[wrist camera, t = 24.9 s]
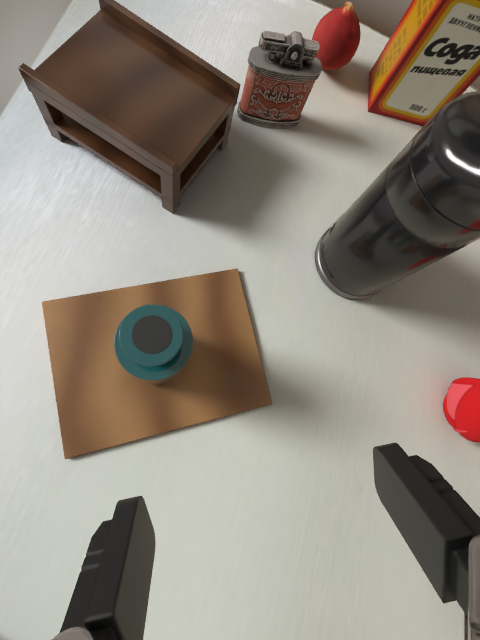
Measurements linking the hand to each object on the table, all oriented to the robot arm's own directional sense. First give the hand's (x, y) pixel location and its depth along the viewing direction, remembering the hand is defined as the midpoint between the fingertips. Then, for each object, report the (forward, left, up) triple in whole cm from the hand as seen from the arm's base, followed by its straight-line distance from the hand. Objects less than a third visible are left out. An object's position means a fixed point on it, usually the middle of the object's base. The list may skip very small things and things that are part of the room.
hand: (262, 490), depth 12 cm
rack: (0, -33, -24) cm, 41 cm away
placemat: (+3, -8, -24) cm, 25 cm away
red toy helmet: (-29, +5, -24) cm, 38 cm away
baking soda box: (-36, -36, -24) cm, 57 cm away
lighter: (-16, -35, -24) cm, 46 cm away
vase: (+3, -8, -23) cm, 25 cm away
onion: (-26, -42, -24) cm, 55 cm away
